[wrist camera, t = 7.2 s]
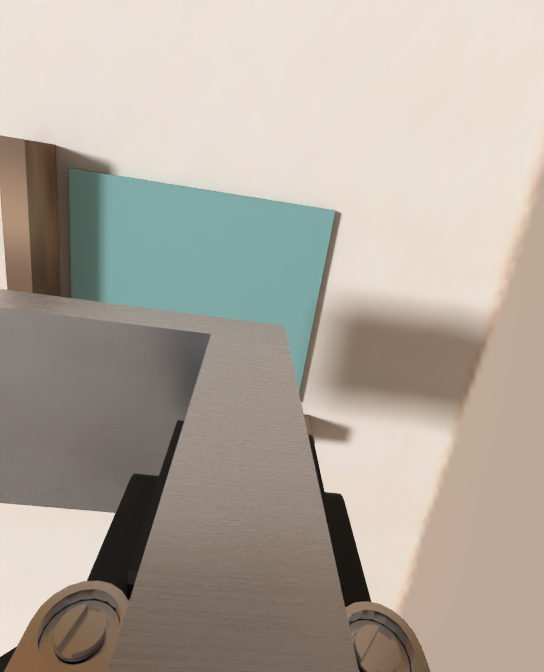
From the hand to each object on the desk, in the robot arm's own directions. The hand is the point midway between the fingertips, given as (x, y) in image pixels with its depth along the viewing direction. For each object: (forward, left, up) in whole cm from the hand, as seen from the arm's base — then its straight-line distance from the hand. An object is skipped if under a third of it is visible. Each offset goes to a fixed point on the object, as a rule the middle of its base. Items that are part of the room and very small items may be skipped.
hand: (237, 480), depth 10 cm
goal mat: (0, +3, -15) cm, 16 cm away
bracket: (0, +3, -3) cm, 4 cm away
